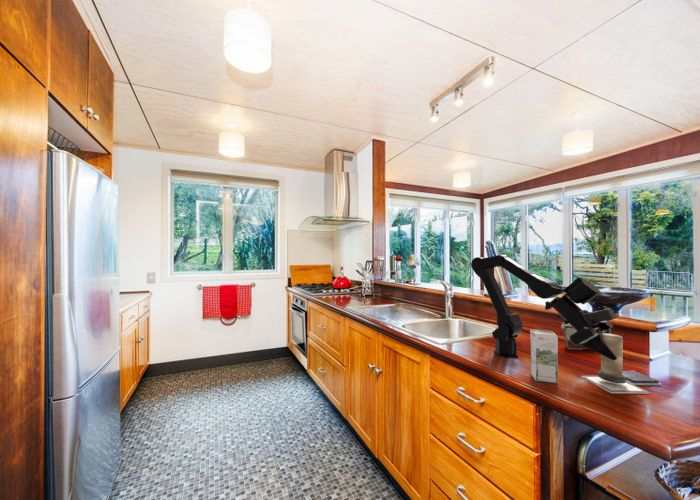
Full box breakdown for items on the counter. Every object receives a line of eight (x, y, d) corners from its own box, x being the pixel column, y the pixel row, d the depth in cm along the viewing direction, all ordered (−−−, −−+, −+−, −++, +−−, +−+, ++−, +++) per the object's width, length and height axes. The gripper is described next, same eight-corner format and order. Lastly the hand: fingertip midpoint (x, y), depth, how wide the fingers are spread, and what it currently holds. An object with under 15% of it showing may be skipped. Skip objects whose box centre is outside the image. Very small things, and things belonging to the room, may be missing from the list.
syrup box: (551, 376, 88) (550, 329, 88) (558, 384, 82) (557, 334, 83) (530, 374, 90) (529, 328, 90) (535, 381, 84) (535, 332, 84)
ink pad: (633, 385, 82) (633, 381, 82) (608, 373, 90) (608, 370, 90) (661, 385, 82) (661, 381, 82) (634, 374, 90) (634, 370, 90)
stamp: (599, 379, 82) (600, 336, 82) (596, 372, 87) (596, 331, 87) (628, 385, 78) (628, 340, 78) (622, 377, 83) (623, 335, 83)
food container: (585, 345, 120) (585, 321, 120) (596, 349, 114) (596, 325, 114) (554, 344, 121) (554, 320, 121) (564, 348, 115) (563, 324, 115)
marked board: (611, 393, 77) (611, 391, 77) (581, 377, 87) (581, 375, 87) (649, 393, 77) (648, 391, 77) (614, 377, 87) (614, 376, 87)
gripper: (582, 300, 81) (637, 349, 71) (603, 295, 91) (654, 337, 82) (551, 322, 87) (597, 370, 78) (574, 315, 98) (617, 357, 88)
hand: (618, 358), depth 81 cm, fingers closed on stamp, 5 cm apart
